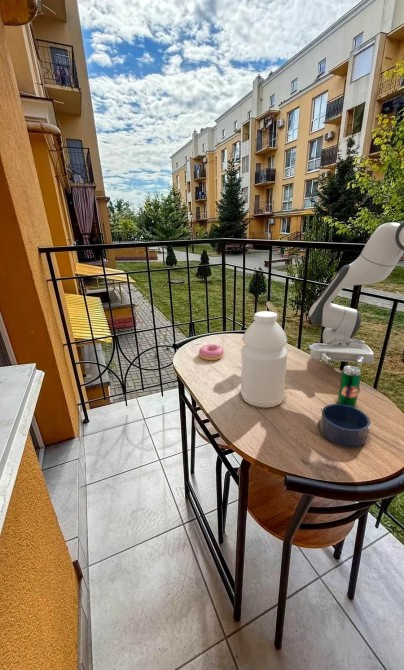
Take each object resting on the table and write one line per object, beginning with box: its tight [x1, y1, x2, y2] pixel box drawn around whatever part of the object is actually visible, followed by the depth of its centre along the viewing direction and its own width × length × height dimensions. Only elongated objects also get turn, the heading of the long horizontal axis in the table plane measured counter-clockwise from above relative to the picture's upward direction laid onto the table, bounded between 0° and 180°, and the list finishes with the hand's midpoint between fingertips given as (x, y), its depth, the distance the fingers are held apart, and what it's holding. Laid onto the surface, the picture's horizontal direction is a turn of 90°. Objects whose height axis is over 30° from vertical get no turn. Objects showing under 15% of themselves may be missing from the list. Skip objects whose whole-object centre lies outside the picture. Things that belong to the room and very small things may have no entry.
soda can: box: [337, 365, 362, 407], centre depth 84 cm, size 5×5×12 cm
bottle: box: [240, 310, 289, 408], centre depth 87 cm, size 14×14×28 cm
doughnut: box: [198, 343, 225, 361], centre depth 121 cm, size 11×11×4 cm
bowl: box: [319, 403, 371, 448], centre depth 73 cm, size 11×11×5 cm
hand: (343, 362), depth 93 cm, fingers open, 8 cm apart
